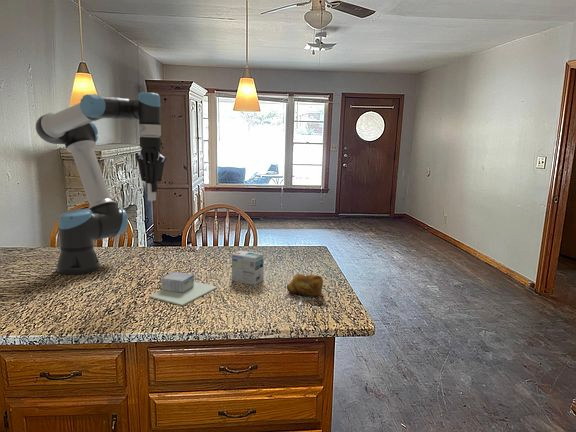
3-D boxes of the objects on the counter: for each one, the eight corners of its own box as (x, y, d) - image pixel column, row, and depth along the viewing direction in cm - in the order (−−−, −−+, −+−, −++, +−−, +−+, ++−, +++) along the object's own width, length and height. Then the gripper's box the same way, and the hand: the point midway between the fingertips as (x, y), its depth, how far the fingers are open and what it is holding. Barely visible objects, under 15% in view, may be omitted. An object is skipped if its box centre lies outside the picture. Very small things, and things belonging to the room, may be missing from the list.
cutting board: (149, 297, 139) (149, 296, 139) (186, 281, 156) (186, 279, 156) (182, 306, 133) (182, 304, 133) (217, 288, 150) (217, 286, 150)
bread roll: (284, 296, 145) (285, 274, 143) (289, 286, 154) (290, 266, 153) (321, 299, 143) (322, 277, 141) (323, 289, 152) (325, 269, 151)
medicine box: (160, 289, 144) (182, 293, 142) (160, 277, 144) (182, 281, 141) (173, 282, 152) (194, 286, 149) (173, 271, 151) (194, 274, 149)
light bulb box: (263, 280, 159) (264, 253, 157) (255, 285, 153) (255, 258, 151) (240, 275, 164) (240, 249, 162) (230, 280, 158) (231, 253, 156)
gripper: (129, 135, 150) (131, 200, 155) (156, 137, 145) (157, 203, 149) (144, 136, 157) (146, 197, 161) (171, 137, 151) (172, 201, 156)
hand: (151, 200), depth 155 cm, fingers closed
